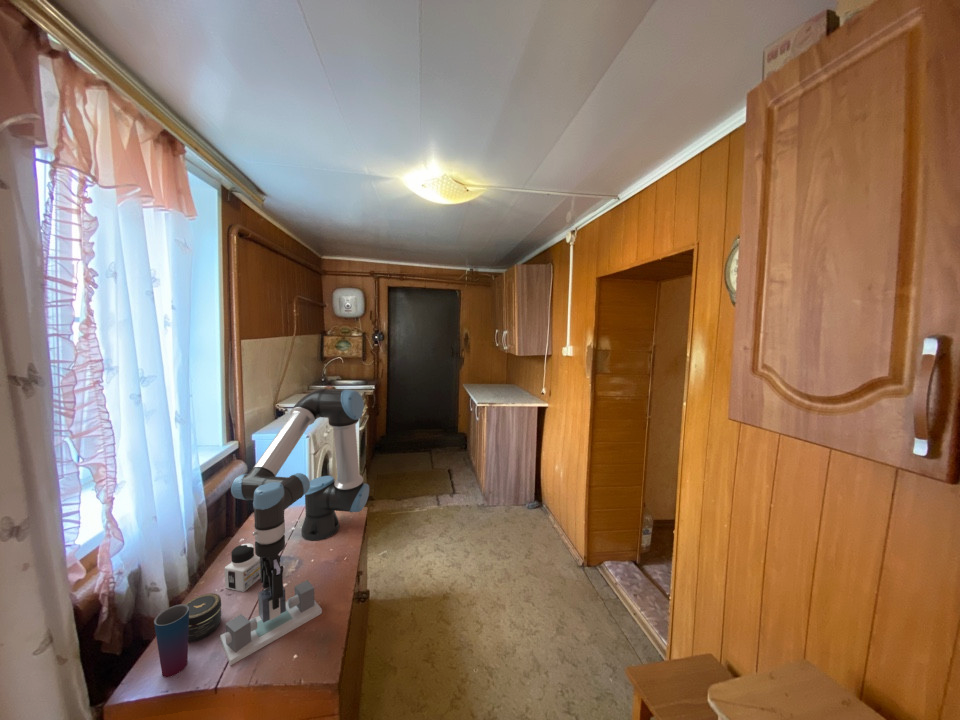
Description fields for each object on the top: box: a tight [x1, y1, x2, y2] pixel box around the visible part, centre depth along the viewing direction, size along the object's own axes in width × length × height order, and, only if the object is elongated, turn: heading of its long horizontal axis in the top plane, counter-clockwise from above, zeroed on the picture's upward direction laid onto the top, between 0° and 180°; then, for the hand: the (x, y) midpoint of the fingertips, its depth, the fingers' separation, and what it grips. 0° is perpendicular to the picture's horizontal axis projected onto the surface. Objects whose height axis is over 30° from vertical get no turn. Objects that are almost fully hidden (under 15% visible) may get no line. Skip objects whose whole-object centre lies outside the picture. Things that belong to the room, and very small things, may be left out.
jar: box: [185, 592, 222, 643], centre depth 104 cm, size 10×10×8 cm
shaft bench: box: [219, 579, 323, 666], centre depth 105 cm, size 24×11×8 cm, turn 137°
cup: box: [153, 603, 189, 678], centre depth 91 cm, size 7×7×15 cm
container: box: [224, 543, 261, 593], centre depth 122 cm, size 8×8×13 cm
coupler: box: [257, 586, 287, 623], centre depth 105 cm, size 6×4×7 cm
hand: (272, 612), depth 105 cm, fingers closed on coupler, 4 cm apart
